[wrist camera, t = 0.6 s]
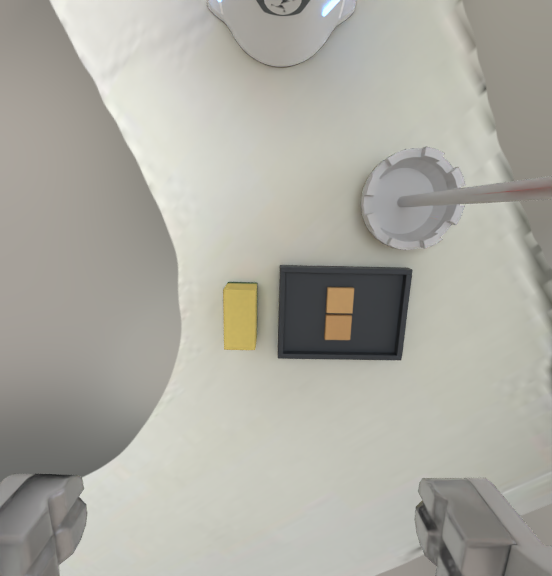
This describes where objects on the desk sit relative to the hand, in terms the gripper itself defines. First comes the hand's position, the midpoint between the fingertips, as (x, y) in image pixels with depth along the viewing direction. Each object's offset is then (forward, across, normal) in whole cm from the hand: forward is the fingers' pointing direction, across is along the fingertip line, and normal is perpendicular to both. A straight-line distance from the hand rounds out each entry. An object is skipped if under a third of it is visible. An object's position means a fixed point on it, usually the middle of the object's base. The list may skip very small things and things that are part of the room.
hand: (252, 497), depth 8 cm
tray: (+41, -11, +8) cm, 44 cm away
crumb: (+41, -11, +10) cm, 43 cm away
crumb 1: (+41, -11, +6) cm, 43 cm away
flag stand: (+42, -19, -9) cm, 47 cm away
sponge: (+41, +4, +8) cm, 42 cm away
